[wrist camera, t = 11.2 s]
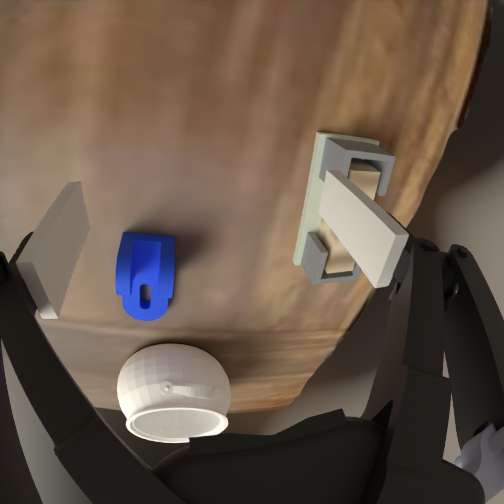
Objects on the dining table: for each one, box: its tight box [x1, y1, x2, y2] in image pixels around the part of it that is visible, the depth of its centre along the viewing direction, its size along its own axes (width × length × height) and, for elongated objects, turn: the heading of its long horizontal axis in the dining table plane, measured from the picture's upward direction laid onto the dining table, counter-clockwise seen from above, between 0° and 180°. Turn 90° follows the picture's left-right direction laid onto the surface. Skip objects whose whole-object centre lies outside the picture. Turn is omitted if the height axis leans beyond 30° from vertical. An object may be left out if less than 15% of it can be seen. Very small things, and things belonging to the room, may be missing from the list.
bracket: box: [116, 232, 175, 321], centre depth 46 cm, size 18×8×9 cm, turn 165°
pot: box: [117, 344, 231, 443], centre depth 61 cm, size 29×26×16 cm
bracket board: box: [293, 132, 396, 285], centre depth 46 cm, size 24×11×7 cm, turn 175°
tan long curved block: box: [317, 158, 381, 274], centre depth 46 cm, size 18×5×6 cm, turn 176°
